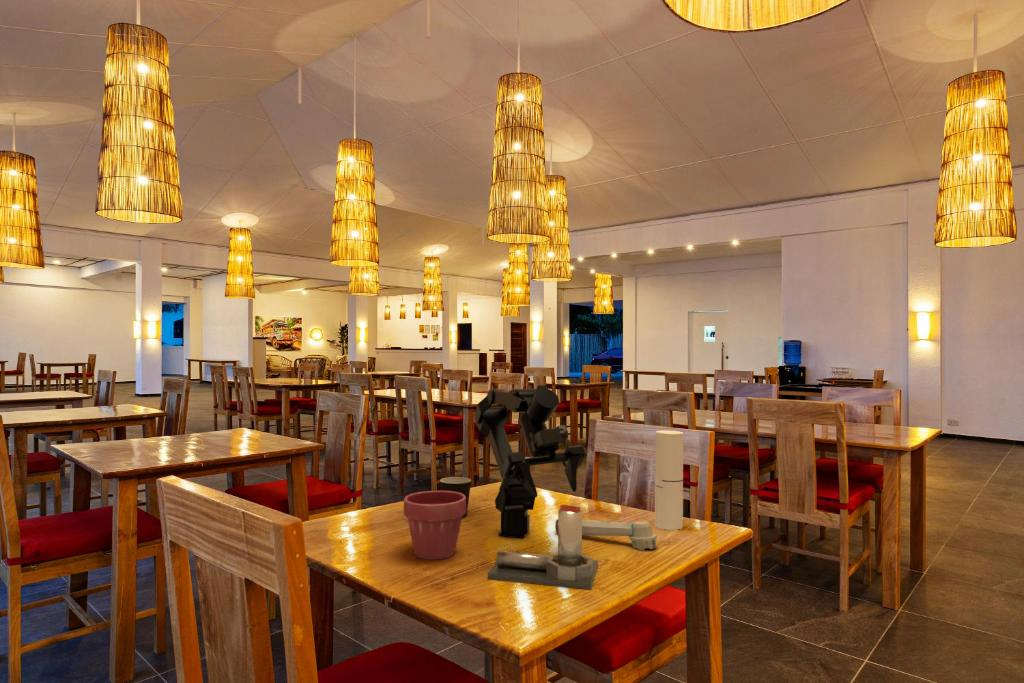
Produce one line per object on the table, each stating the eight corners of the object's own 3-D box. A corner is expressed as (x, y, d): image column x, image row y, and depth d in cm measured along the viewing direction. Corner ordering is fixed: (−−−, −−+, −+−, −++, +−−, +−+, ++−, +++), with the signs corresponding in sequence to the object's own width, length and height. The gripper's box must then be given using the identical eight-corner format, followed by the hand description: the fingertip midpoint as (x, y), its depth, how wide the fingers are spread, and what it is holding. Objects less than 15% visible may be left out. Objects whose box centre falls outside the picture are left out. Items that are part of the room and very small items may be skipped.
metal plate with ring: (487, 578, 122) (487, 557, 122) (504, 557, 135) (504, 538, 135) (590, 589, 117) (591, 567, 117) (597, 566, 130) (597, 546, 130)
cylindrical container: (678, 531, 156) (678, 434, 157) (651, 527, 160) (651, 432, 160) (686, 525, 162) (686, 431, 163) (659, 521, 166) (660, 429, 166)
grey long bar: (561, 515, 157) (656, 516, 145) (564, 541, 156) (660, 544, 144) (553, 520, 152) (650, 521, 140) (556, 547, 152) (654, 550, 140)
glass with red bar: (551, 573, 123) (552, 507, 123) (564, 565, 127) (565, 501, 127) (575, 579, 120) (575, 511, 120) (587, 571, 124) (588, 505, 124)
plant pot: (402, 544, 143) (403, 490, 144) (461, 541, 146) (462, 488, 146) (403, 565, 129) (404, 505, 129) (469, 562, 132) (469, 503, 132)
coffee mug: (469, 520, 164) (469, 483, 164) (437, 520, 164) (438, 483, 165) (472, 509, 176) (473, 475, 176) (443, 509, 176) (443, 474, 176)
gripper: (505, 417, 133) (523, 480, 123) (582, 410, 139) (606, 469, 129) (495, 445, 141) (512, 506, 131) (569, 437, 147) (590, 495, 137)
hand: (555, 493), depth 132 cm, fingers open, 9 cm apart
